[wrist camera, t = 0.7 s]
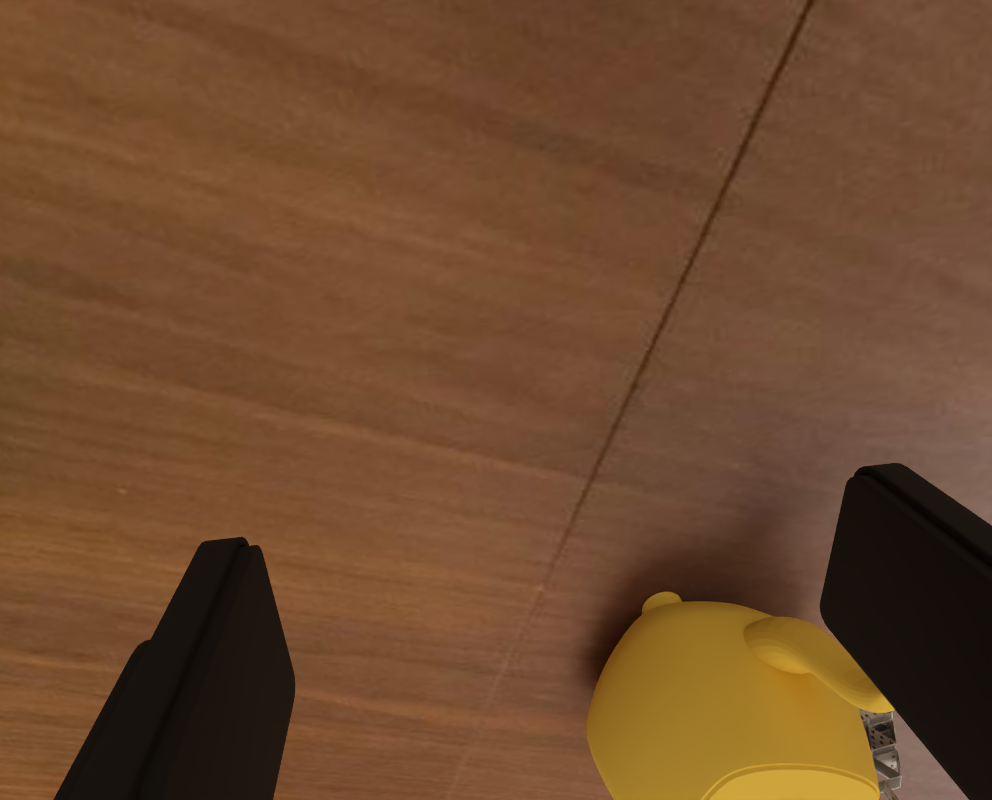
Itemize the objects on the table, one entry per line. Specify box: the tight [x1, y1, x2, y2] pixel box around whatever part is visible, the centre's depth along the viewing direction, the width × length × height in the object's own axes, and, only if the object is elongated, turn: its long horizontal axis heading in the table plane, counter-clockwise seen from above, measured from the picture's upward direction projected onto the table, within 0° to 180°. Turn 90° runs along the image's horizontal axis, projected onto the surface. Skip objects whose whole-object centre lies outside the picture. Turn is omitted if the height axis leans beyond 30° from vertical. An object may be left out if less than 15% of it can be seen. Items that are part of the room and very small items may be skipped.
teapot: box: [586, 592, 895, 800], centre depth 33 cm, size 14×20×13 cm
